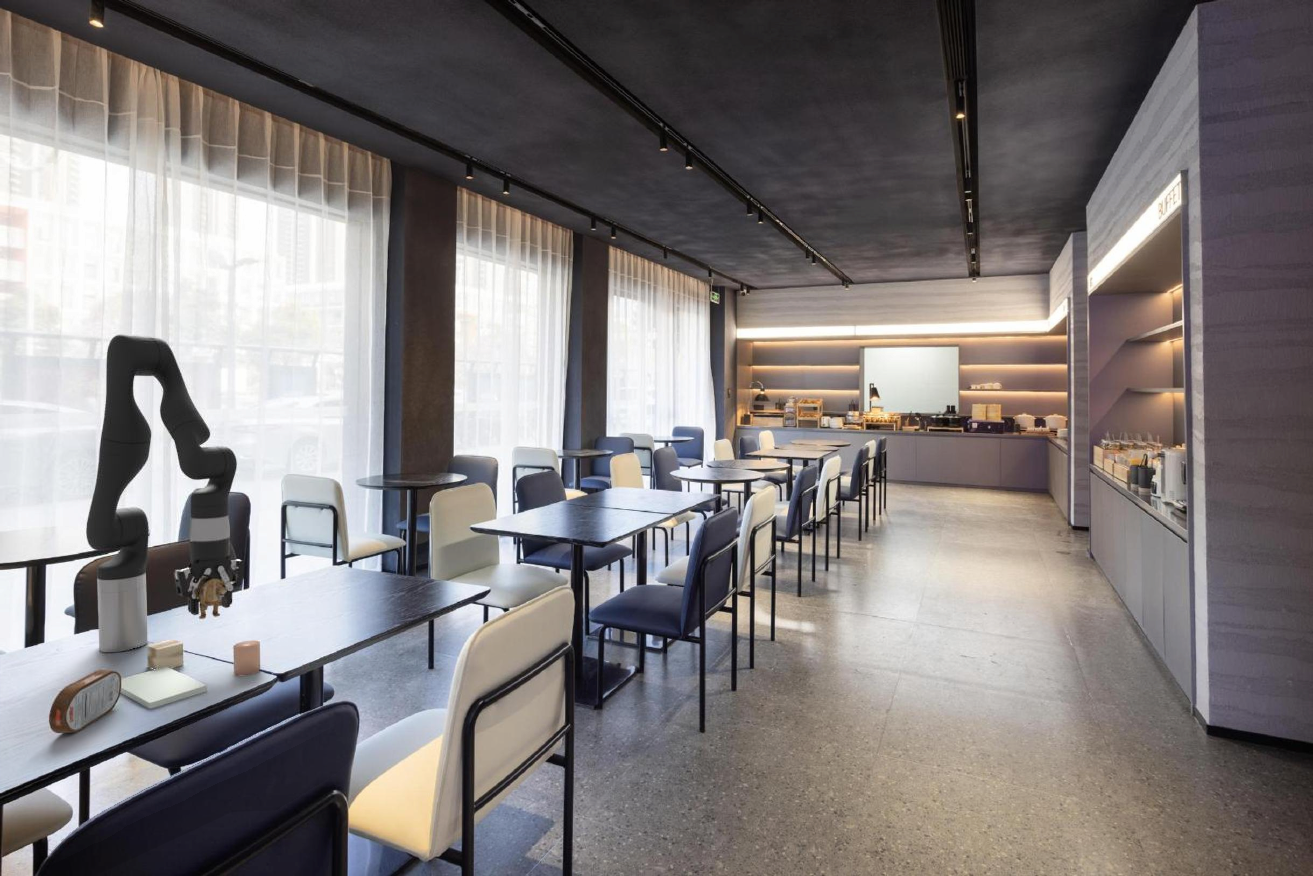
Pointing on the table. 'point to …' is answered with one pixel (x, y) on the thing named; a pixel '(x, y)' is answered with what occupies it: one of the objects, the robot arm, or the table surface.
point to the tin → (85, 701)
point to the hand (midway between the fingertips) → (210, 610)
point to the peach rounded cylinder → (246, 657)
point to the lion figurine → (211, 597)
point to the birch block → (165, 654)
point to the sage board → (160, 687)
